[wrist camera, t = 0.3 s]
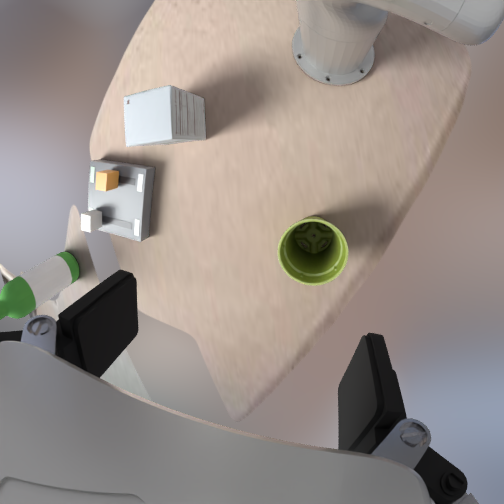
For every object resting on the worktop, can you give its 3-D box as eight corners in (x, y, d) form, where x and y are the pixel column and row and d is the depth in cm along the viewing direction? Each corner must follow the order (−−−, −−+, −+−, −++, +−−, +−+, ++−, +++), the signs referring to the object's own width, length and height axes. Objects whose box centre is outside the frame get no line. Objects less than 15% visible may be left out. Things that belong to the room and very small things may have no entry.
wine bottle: (77, 251, 57) (-24, 313, 30) (84, 282, 60) (-8, 351, 33) (57, 248, 59) (-38, 303, 31) (63, 278, 62) (-24, 339, 34)
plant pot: (316, 273, 48) (316, 298, 40) (272, 237, 48) (263, 256, 40) (354, 232, 44) (362, 250, 37) (309, 193, 44) (308, 203, 36)
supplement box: (167, 145, 46) (123, 147, 34) (165, 103, 43) (122, 95, 31) (207, 141, 44) (172, 140, 33) (206, 97, 42) (170, 83, 30)
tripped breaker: (108, 169, 45) (96, 171, 42) (119, 171, 45) (106, 173, 42) (107, 186, 46) (95, 189, 43) (117, 187, 46) (105, 191, 43)
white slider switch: (92, 209, 49) (81, 213, 46) (102, 211, 48) (90, 216, 45) (92, 224, 50) (81, 229, 47) (101, 227, 50) (90, 232, 46)
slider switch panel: (100, 159, 49) (89, 161, 46) (155, 167, 47) (146, 168, 44) (97, 222, 54) (87, 226, 51) (148, 236, 52) (140, 242, 49)
